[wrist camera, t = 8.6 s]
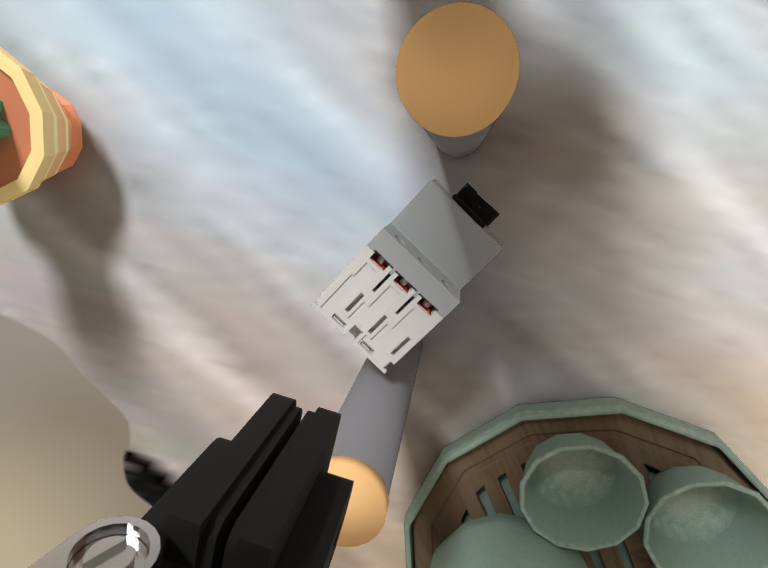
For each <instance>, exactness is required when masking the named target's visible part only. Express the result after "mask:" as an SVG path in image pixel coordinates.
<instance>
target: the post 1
mask: <svg viewBox="0 0 768 568" xmlns="http://www.w3.org/2000/svg"><path fill="white" fill-rule="evenodd" d="M421 351H422V343H421V340H420V341H419V342H418V343H417V344H415V345H414V346H413V347H412V348H411V349H410V350H409V351H408V352H407V353H406V354H405V355H404V356H403V357H402V358H401V359H399V360H398V361H397V362H396V363H395V364H393V363H392V362H391V363H390V364H388V365H387V366H386V367H385V368H386V369H387V372H386V373H383V372H382V371H381V370H380V369H379V368H378V367H377V366H376V365H375V364H374V363H373V362H372V361H370V360H369V359H368V358H367V359H366V361H365V363H364V365H363V366H362V368H361V370H360V372H359V374H358V376H357V378H356V380H355V382H354V384H353V386H352V388H351V390H350V391H349V393H348V395H347V397H346V399H345V401H344V403H343V405H342V407H341V409H340V411H339V414H341V419H340V424H339V428H338V432H337V436H336V440H335V444H334V449H333V453H332V457H331V461H330V465H329V469H328V473H331V474H334V475H337V476H340V477H343V478H346V479H349V480H352V481H354V484H353V488H352V492H351V496H350V500H349V504H348V507H347V511H346V515H345V518H344V522H343V525H342V529H341V532H340V535H339V538H338V542H337V545H336V546H343V547H353V546H359V545H362V544H365V543H367V542H369V541H370V540H372V539H373V538H374V537H376V536H377V534H378V533H379V532H380V531H381V529H382V527H383V525H384V522H385V517H386V513H387V508H388V502H389V498H388V496H389V492H390V487H391V483H392V479H393V474H394V470H395V465H396V461H397V457H398V452H399V448H400V443H401V439H402V435H403V430H404V426H405V421H406V417H407V413H408V408H409V404H410V399H411V395H412V391H413V386H414V382H415V377H416V373H417V369H418V364H419V360H420V355H421Z"/></svg>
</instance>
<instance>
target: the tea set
mask: <svg viewBox="0 0 768 568" xmlns="http://www.w3.org/2000/svg"><path fill="white" fill-rule="evenodd" d="M404 533H405V552H406V568H768V489H767V488H766V487H765V486H764V485H763V484H762V483H761V482H760V481H759V480H758V479H757V478H756V476H755V475H754V474H753V473H752V472H751V471H750V470H749V469H748V468H747V467H746V466H745V465H744V464H743V463H742V462H741V461H740V459H739V458H738V457H737V456H736V455H735V454H734V453H733V452H732V451H731V450H730V449H729V448H728V447H727V446H726V445H725V443H724V442H723V441H722V440H721V439H720V438H719V437H718V436H717V435H716V434H715V433H714V432H711V431H708V430H706V429H703V428H700V427H697V426H694V425H691V424H689V423H686V422H683V421H680V420H677V419H675V418H672V417H669V416H666V415H663V414H660V413H658V412H655V411H652V410H649V409H646V408H644V407H641V406H638V405H635V404H632V403H630V402H627V401H624V400H621V399H618V398H614V397H608V398H595V399H583V400H570V401H558V402H545V403H533V404H520V405H517V406H515V407H513V408H512V409H510V410H508V411H506V412H505V413H503V414H501V415H499V416H498V417H496V418H494V419H493V420H491V421H489V422H487V423H486V424H484V425H482V426H480V427H479V428H477V429H475V430H474V431H472V432H470V433H468V434H467V435H465V436H463V437H461V438H460V439H458V440H456V441H454V442H453V443H451V444H449V445H448V446H446V447H445V448H444V449H443V450H442V451H441V453H440V455H439V457H438V458H437V460H436V462H435V464H434V465H433V467H432V469H431V470H430V472H429V474H428V476H427V477H426V479H425V481H424V483H423V484H422V486H421V488H420V490H419V491H418V493H417V495H416V496H415V498H414V500H413V502H412V503H411V505H410V507H409V509H408V510H407V512H406V515H405V521H404Z"/></svg>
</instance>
